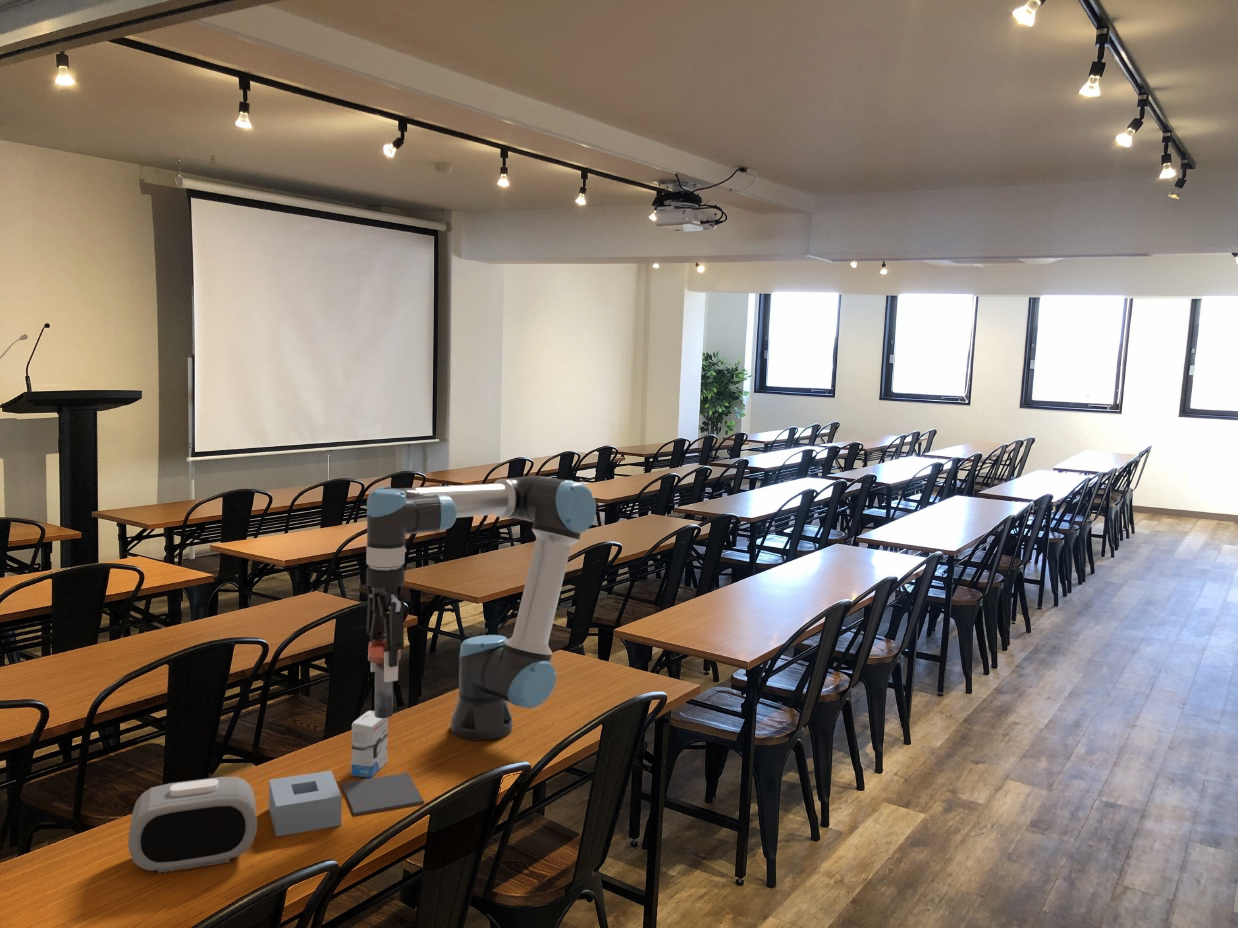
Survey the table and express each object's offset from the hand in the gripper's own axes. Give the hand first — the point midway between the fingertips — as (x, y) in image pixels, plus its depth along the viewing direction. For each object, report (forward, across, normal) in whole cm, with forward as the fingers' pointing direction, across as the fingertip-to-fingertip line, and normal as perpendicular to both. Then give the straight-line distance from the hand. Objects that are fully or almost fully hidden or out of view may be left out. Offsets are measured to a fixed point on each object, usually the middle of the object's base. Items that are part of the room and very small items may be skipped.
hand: (384, 675), depth 191 cm
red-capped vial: (+8, 0, 0) cm, 8 cm away
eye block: (+26, -1, +16) cm, 31 cm away
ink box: (+26, +13, -2) cm, 29 cm away
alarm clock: (+26, -6, +38) cm, 46 cm away
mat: (+26, 0, 0) cm, 26 cm away
